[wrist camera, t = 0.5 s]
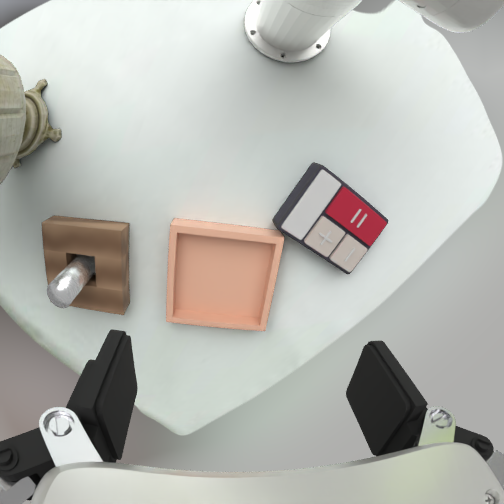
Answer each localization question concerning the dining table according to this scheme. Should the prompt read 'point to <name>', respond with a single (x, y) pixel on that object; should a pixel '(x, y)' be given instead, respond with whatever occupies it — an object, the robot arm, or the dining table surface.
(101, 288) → the wooden square hole block
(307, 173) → the calculator
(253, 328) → the tray
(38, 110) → the samovar
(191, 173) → the dining table surface
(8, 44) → the dining table surface
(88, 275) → the pin
